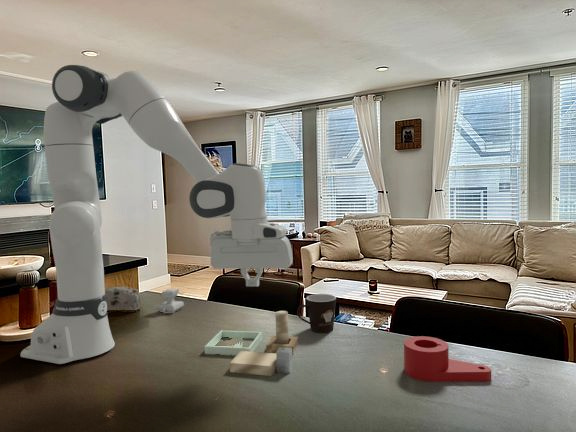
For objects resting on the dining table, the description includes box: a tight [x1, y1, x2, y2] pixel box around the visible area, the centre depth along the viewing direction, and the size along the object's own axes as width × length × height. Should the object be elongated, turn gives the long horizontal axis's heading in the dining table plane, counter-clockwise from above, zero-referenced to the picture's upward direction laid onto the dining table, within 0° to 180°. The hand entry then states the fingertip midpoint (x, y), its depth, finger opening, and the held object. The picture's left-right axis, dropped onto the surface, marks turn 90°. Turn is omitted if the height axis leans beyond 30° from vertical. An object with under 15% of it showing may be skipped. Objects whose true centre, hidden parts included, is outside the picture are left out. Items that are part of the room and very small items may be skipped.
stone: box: [105, 286, 141, 310], centre depth 145 cm, size 13×6×10 cm, turn 76°
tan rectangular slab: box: [229, 351, 277, 377], centre depth 98 cm, size 10×7×3 cm
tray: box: [204, 329, 263, 357], centre depth 111 cm, size 12×12×2 cm
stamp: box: [156, 288, 185, 314], centre depth 144 cm, size 9×7×8 cm
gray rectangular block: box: [275, 347, 293, 374], centre depth 96 cm, size 3×3×5 cm
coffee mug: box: [296, 293, 337, 334], centre depth 122 cm, size 12×9×10 cm
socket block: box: [265, 335, 299, 355], centre depth 109 cm, size 7×7×2 cm
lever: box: [403, 335, 492, 383], centre depth 92 cm, size 18×9×7 cm, turn 73°
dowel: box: [274, 310, 290, 344], centre depth 108 cm, size 3×3×10 cm
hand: (252, 286), depth 103 cm, fingers closed
